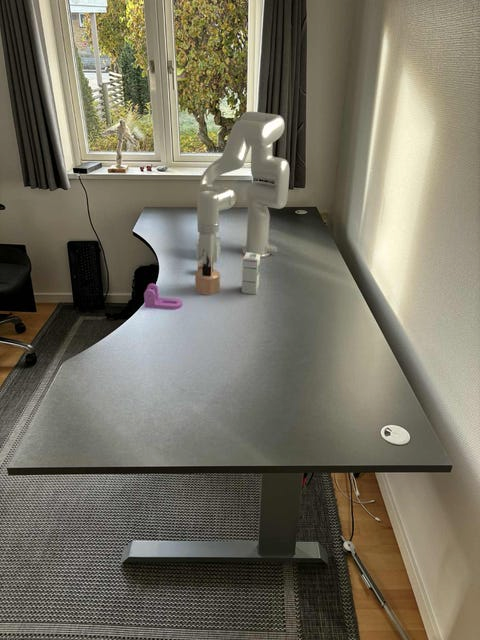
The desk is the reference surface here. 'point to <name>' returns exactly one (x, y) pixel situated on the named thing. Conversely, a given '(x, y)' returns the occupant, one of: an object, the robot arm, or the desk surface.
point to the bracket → (159, 299)
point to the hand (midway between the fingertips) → (207, 273)
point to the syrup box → (250, 273)
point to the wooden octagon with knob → (207, 281)
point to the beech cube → (200, 265)
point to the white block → (217, 251)
